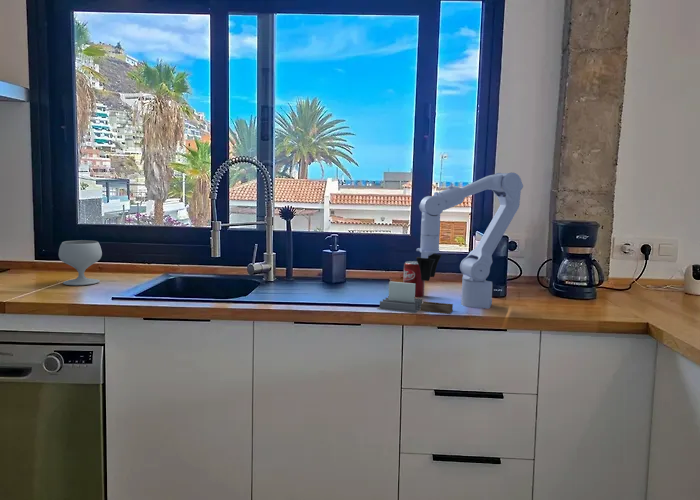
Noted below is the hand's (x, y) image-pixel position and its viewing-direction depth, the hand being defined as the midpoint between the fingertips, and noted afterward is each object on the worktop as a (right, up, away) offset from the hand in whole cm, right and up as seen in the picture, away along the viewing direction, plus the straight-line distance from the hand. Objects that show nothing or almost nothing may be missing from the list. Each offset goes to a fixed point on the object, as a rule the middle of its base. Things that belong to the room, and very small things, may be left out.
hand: (428, 278), depth 169 cm
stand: (+2, -10, -5) cm, 11 cm away
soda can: (-3, -8, +18) cm, 20 cm away
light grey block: (-8, -9, -1) cm, 12 cm away
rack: (-9, -9, -1) cm, 13 cm away
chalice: (-121, -3, +27) cm, 125 cm away
